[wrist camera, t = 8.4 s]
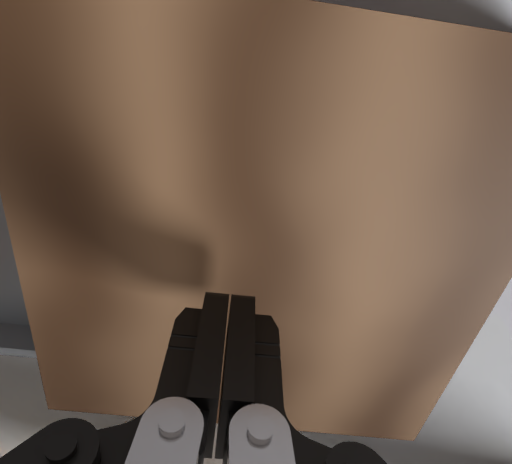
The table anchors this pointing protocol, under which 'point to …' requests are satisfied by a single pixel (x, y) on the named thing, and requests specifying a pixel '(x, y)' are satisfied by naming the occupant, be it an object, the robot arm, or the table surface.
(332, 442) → the table surface
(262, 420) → the robot arm
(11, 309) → the slate tray
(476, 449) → the table surface
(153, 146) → the walnut platform
